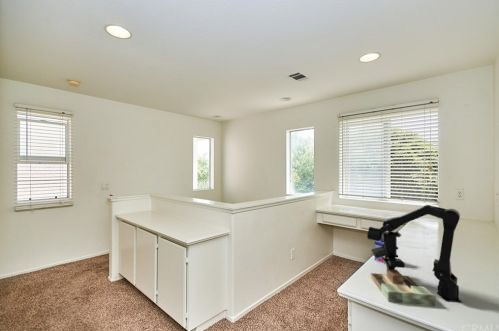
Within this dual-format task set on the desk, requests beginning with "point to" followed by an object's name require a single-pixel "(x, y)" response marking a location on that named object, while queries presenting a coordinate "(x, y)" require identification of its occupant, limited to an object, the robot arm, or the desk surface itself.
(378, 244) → the ink cartridge box
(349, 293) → the desk surface
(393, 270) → the walnut brick
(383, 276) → the trap board
